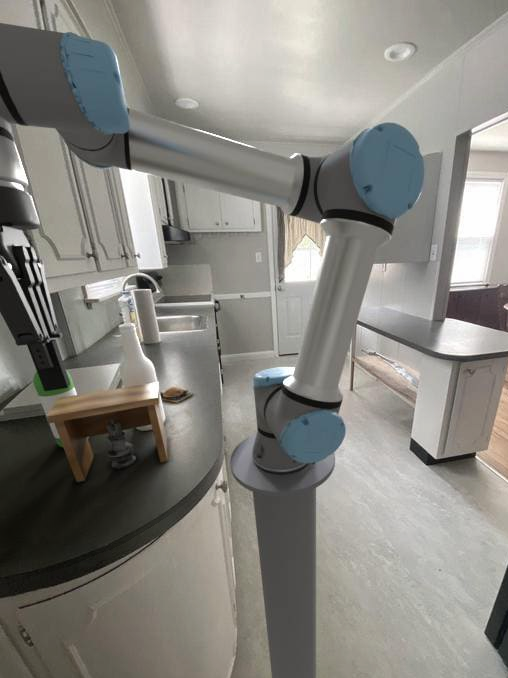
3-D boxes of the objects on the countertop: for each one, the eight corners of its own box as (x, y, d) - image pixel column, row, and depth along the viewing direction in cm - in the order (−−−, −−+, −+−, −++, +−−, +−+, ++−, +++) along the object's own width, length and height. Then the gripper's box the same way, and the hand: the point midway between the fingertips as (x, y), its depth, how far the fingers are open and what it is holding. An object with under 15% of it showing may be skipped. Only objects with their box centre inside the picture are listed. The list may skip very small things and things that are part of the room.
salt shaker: (138, 452, 78) (127, 411, 73) (134, 466, 72) (122, 422, 68) (113, 456, 76) (100, 414, 72) (107, 471, 71) (93, 427, 66)
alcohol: (153, 414, 97) (131, 320, 85) (172, 420, 93) (151, 322, 81) (128, 427, 90) (100, 326, 78) (147, 434, 86) (120, 329, 74)
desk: (172, 460, 74) (157, 397, 68) (71, 483, 67) (45, 416, 61) (170, 439, 83) (158, 382, 76) (82, 458, 76) (59, 397, 70)
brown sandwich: (194, 395, 110) (193, 385, 109) (176, 404, 103) (174, 394, 102) (173, 390, 115) (172, 381, 113) (155, 398, 108) (153, 389, 106)
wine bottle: (93, 431, 88) (60, 329, 77) (87, 445, 82) (49, 336, 70) (62, 437, 86) (23, 333, 74) (53, 452, 79) (8, 340, 68)
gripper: (-26, 197, 37) (41, 376, 46) (-108, 169, 26) (3, 413, 35) (47, 199, 40) (97, 369, 49) (1, 174, 28) (78, 401, 37)
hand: (58, 387), depth 42 cm, fingers closed
